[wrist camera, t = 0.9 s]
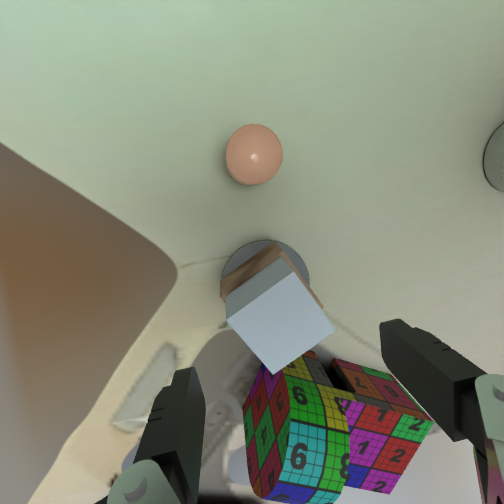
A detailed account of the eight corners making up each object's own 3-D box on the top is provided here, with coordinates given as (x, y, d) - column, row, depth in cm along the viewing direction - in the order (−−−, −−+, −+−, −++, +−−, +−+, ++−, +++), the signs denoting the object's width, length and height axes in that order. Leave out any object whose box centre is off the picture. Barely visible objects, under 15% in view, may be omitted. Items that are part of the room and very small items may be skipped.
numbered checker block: (229, 436, 39) (232, 572, 25) (272, 338, 35) (302, 432, 22) (371, 466, 43) (440, 596, 29) (420, 382, 40) (522, 483, 26)
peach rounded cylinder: (253, 127, 29) (261, 111, 23) (279, 167, 30) (293, 161, 24) (216, 155, 29) (214, 147, 23) (243, 194, 30) (248, 195, 25)
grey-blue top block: (280, 256, 26) (293, 271, 21) (317, 306, 28) (336, 330, 23) (225, 296, 27) (226, 320, 22) (264, 343, 28) (273, 374, 24)
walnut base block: (273, 240, 31) (283, 250, 26) (309, 290, 33) (324, 307, 28) (220, 280, 31) (219, 296, 27) (258, 326, 33) (264, 349, 29)
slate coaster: (275, 222, 31) (276, 223, 30) (322, 288, 34) (325, 291, 33) (203, 275, 32) (202, 278, 31) (255, 336, 35) (256, 341, 34)
